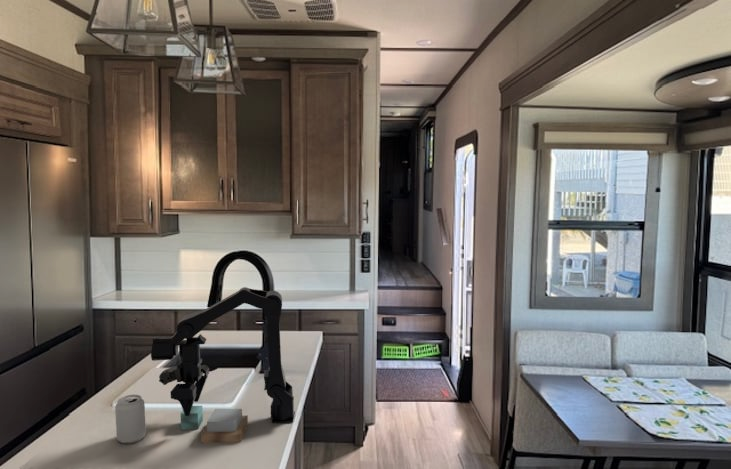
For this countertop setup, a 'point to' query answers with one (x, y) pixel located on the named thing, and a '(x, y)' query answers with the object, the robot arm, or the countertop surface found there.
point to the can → (130, 419)
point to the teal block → (192, 418)
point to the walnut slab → (225, 434)
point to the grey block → (224, 420)
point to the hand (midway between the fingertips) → (191, 408)
